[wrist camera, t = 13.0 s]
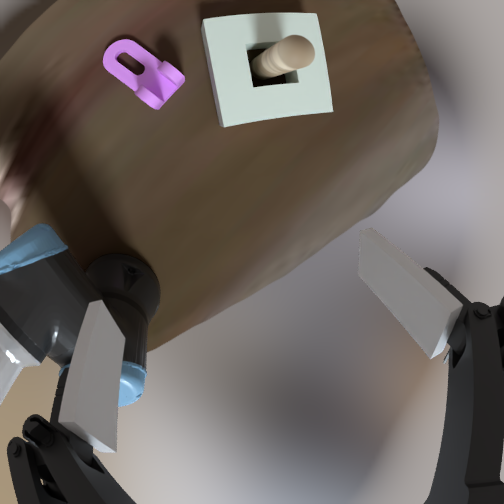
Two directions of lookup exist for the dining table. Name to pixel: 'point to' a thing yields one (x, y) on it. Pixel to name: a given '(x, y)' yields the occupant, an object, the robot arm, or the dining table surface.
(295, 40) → the peg
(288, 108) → the socket block
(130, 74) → the bracket
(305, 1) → the dining table surface
